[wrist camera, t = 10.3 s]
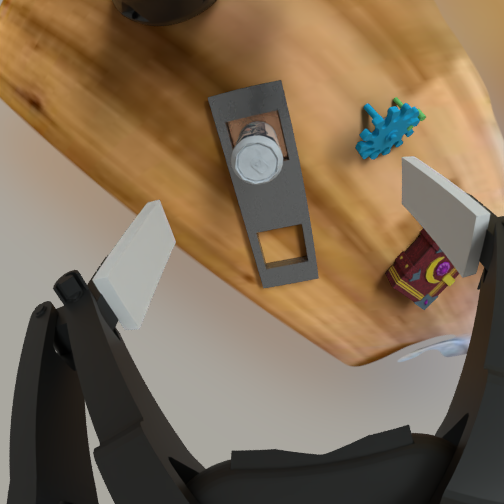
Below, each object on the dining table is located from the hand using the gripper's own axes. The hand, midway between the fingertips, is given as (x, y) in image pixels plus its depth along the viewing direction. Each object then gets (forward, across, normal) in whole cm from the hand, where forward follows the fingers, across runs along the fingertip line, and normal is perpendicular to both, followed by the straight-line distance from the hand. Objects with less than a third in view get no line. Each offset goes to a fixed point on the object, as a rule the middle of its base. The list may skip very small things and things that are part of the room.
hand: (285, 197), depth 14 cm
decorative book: (+24, +25, -25) cm, 42 cm away
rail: (+23, -2, -9) cm, 25 cm away
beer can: (+23, -2, -1) cm, 24 cm away
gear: (+24, +15, -2) cm, 28 cm away
